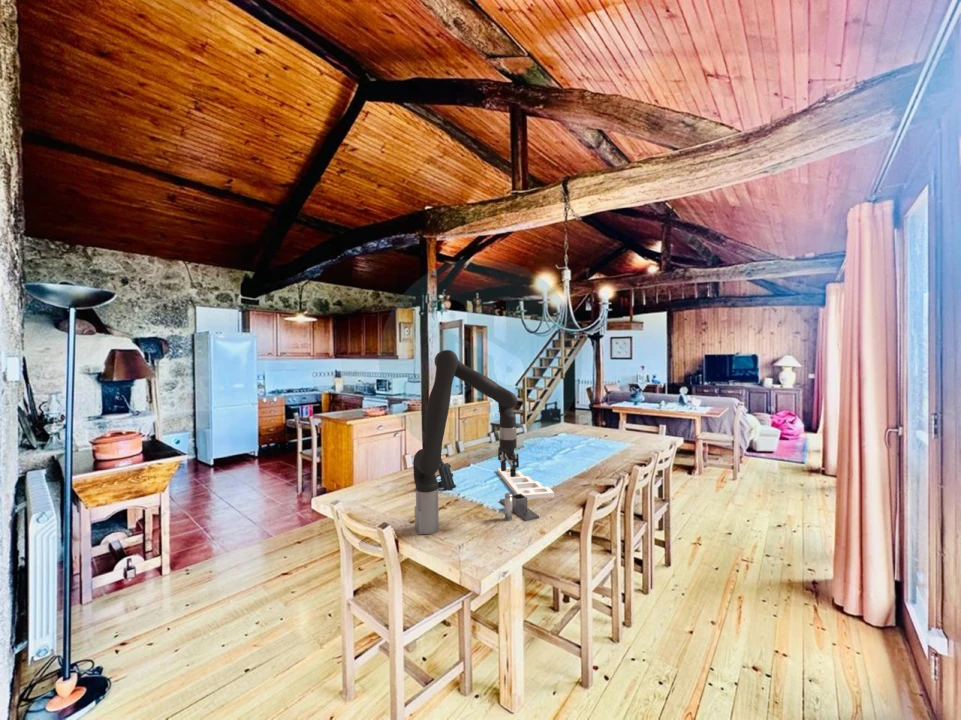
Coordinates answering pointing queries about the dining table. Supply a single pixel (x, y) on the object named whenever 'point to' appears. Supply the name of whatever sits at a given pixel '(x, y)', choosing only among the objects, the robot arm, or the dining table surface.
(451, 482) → the gun
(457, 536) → the dining table surface
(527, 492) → the holder
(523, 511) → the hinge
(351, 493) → the dining table surface
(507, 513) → the pin
